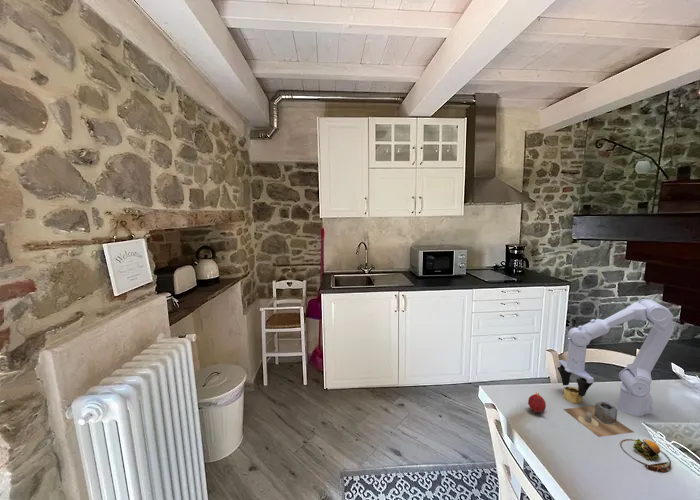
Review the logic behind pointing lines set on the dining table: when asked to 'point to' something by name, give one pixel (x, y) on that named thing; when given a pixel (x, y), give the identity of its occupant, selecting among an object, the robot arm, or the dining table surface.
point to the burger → (650, 454)
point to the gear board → (596, 422)
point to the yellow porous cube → (572, 395)
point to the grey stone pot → (605, 412)
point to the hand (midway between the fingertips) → (573, 390)
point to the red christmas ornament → (537, 403)
